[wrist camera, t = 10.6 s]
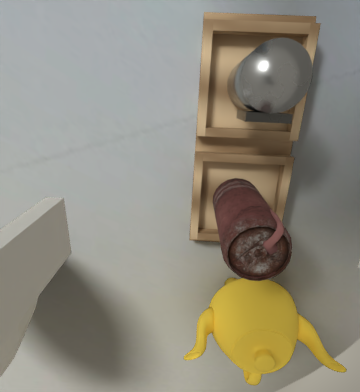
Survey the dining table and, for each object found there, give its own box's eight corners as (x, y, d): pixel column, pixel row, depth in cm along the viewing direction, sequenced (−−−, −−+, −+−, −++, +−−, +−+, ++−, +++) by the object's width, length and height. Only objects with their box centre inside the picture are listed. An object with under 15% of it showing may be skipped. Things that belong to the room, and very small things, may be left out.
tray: (203, 16, 30) (204, 7, 27) (310, 20, 30) (322, 12, 27) (189, 235, 39) (189, 245, 37) (270, 240, 39) (276, 250, 36)
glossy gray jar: (229, 56, 30) (246, 36, 20) (279, 58, 30) (319, 39, 20) (224, 115, 32) (236, 121, 23) (270, 118, 32) (302, 124, 22)
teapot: (183, 333, 46) (180, 404, 35) (188, 260, 41) (186, 317, 30) (298, 342, 45) (331, 416, 35) (318, 269, 40) (363, 330, 30)
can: (267, 185, 35) (312, 236, 22) (244, 225, 37) (273, 294, 24) (225, 168, 34) (245, 209, 21) (205, 209, 36) (211, 270, 23)
